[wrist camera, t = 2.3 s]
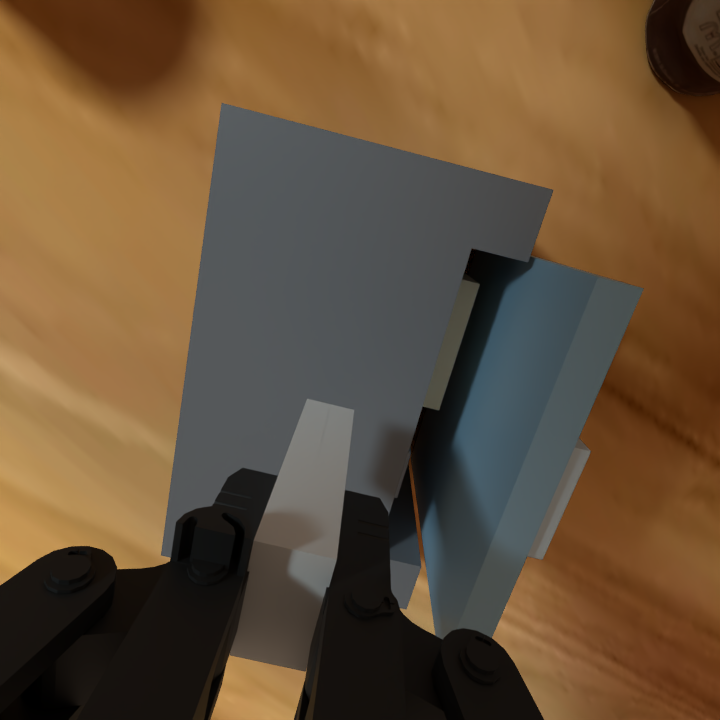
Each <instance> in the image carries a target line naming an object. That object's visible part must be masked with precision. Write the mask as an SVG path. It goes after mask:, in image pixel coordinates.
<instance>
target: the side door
mask: <svg viewBox="0 0 720 720" xmlns="http://www.w3.org/2000/svg"><path fill="white" fill-rule="evenodd" d="M468 276H469V277H471V278H472V279H474V280H475V281H476V282H478V283H479V284H480V286H479V289H478V292H477V295H476V298H475V301H474V304H473V307H472V310H471V313H470V316H469V320H468V323H467V326H466V329H465V332H464V335H463V338H462V341H461V344H460V347H459V350H458V354H457V357H456V360H455V363H454V366H453V369H452V372H451V375H450V378H449V381H448V384H447V387H446V391H445V394H444V397H443V400H442V403H441V406H440V409H439V410H435V409H431V408H426V411H425V414H424V418H423V421H422V424H421V427H420V430H419V433H418V437H417V440H416V443H415V446H414V449H413V453H412V456H411V462H412V469H413V477H414V484H415V491H416V498H417V505H418V513H419V520H420V527H421V534H422V541H423V548H424V556H425V563H426V570H427V577H428V584H429V592H430V599H431V606H432V613H433V620H434V627H435V635H436V636H437V637H439V638H441V639H443V638H444V637H445V636H446V635H447V634H448V633H450V632H451V631H452V630H456V629H461V628H466V629H471V630H476V631H479V632H481V633H483V634H485V635H487V636H489V637H491V638H492V636H493V634H494V632H495V629H496V627H497V625H498V622H499V620H500V618H501V615H502V613H503V611H504V609H505V606H506V604H507V602H508V599H509V597H510V595H511V592H512V590H513V588H514V586H515V583H516V581H517V579H518V576H519V574H520V572H521V569H522V567H523V565H524V563H525V560H526V558H527V556H528V557H532V558H537V559H541V560H543V557H544V555H545V553H546V551H547V549H548V546H549V544H550V542H551V540H552V537H553V535H554V533H555V531H556V528H557V526H558V524H559V522H560V520H561V517H562V515H563V513H564V511H565V508H566V506H567V504H568V502H569V500H570V497H571V495H572V493H573V491H574V488H575V486H576V484H577V482H578V479H579V477H580V475H581V473H582V471H583V468H584V466H585V464H586V462H587V459H588V457H589V455H590V453H591V451H590V450H589V449H588V447H587V446H586V445H585V444H584V443H583V442H582V441H581V440H580V438H579V436H580V434H581V432H582V429H583V427H584V425H585V422H586V420H587V418H588V415H589V413H590V411H591V409H592V406H593V404H594V402H595V399H596V397H597V395H598V392H599V390H600V388H601V386H602V383H603V381H604V379H605V376H606V374H607V372H608V369H609V367H610V365H611V363H612V360H613V358H614V356H615V353H616V351H617V349H618V346H619V344H620V342H621V340H622V337H623V335H624V333H625V330H626V328H627V326H628V323H629V321H630V319H631V317H632V314H633V312H634V310H635V307H636V305H637V303H638V301H639V298H640V296H641V294H642V291H643V289H644V288H640V287H637V286H633V285H630V284H627V283H623V282H620V281H617V280H613V279H610V278H606V277H603V276H600V275H596V274H593V273H589V272H586V271H583V270H579V269H576V268H573V267H569V266H566V265H562V264H559V263H556V262H552V261H549V260H545V259H542V258H539V257H535V256H532V255H530V258H529V261H528V262H524V261H520V260H516V259H512V258H508V257H504V256H500V255H496V254H493V253H489V252H485V251H481V250H477V249H476V252H475V255H474V258H473V261H472V265H471V268H470V271H469V274H468Z"/></svg>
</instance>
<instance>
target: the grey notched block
mask: <svg viewBox="0 0 720 720" xmlns="http://www.w3.org/2000/svg"><path fill="white" fill-rule="evenodd" d="M552 193H553V190H552V189H548V188H544V187H540V186H536V185H533V184H529V183H525V182H521V181H517V180H514V179H510V178H506V177H502V176H498V175H495V174H491V173H487V172H483V171H479V170H475V169H472V168H468V167H464V166H460V165H456V164H453V163H449V162H445V161H441V160H437V159H434V158H430V157H426V156H422V155H418V154H414V153H411V152H407V151H403V150H399V149H395V148H392V147H388V146H384V145H380V144H376V143H373V142H369V141H365V140H361V139H357V138H353V137H350V136H346V135H342V134H338V133H334V132H331V131H327V130H323V129H319V128H315V127H312V126H308V125H304V124H300V123H296V122H293V121H289V120H285V119H281V118H277V117H273V116H270V115H266V114H262V113H258V112H254V111H251V110H247V109H243V108H239V107H235V106H232V105H228V104H224V103H222V105H221V112H220V120H219V127H218V134H217V142H216V149H215V157H214V164H213V172H212V179H211V187H210V194H209V202H208V209H207V217H206V224H205V231H204V239H203V246H202V254H201V261H200V269H199V276H198V284H197V291H196V299H195V306H194V313H193V321H192V328H191V336H190V343H189V351H188V358H187V366H186V373H185V381H184V388H183V396H182V403H181V410H180V418H179V425H178V433H177V440H176V448H175V455H174V463H173V470H172V478H171V485H170V492H169V500H168V507H167V515H166V522H165V530H164V537H163V545H162V552H161V555H162V556H166V557H171V552H172V546H173V539H174V532H175V525H176V522H177V521H178V520H179V519H180V518H181V517H182V516H183V515H184V514H185V513H187V512H190V511H192V510H194V509H196V508H202V507H209V506H212V505H213V504H214V502H215V499H216V498H217V496H218V494H219V493H220V491H221V489H222V487H223V485H224V483H225V482H226V480H227V478H228V477H229V476H230V475H232V474H233V473H235V472H237V471H238V470H240V469H241V468H247V469H251V470H255V471H260V472H264V473H268V474H273V475H277V476H278V475H279V472H280V469H281V467H282V464H283V461H284V459H285V456H286V453H287V451H288V448H289V446H290V443H291V440H292V438H293V435H294V432H295V430H296V427H297V424H298V422H299V419H300V416H301V414H302V411H303V408H304V406H305V403H306V401H307V399H311V400H315V401H319V402H323V403H327V404H331V405H336V406H340V407H344V408H348V409H352V410H354V416H353V425H352V433H351V442H350V451H349V459H348V468H347V476H346V485H345V490H348V491H352V492H357V493H361V494H365V495H369V496H374V497H378V498H380V499H381V501H382V502H383V504H384V506H385V507H386V509H387V511H388V517H389V529H388V530H389V544H390V571H391V590H392V593H393V595H394V596H395V597H396V599H397V601H398V604H399V608H402V609H407V606H408V603H409V600H410V597H411V595H412V592H413V589H414V586H415V583H416V580H417V577H418V575H419V572H420V569H421V561H420V553H419V545H418V537H417V529H416V521H415V513H414V505H413V497H412V489H411V481H410V473H409V465H408V462H409V459H410V456H411V448H410V445H411V442H412V439H413V436H414V432H415V429H416V426H417V423H418V420H419V416H420V413H421V410H422V407H427V408H431V409H435V410H439V409H440V406H441V403H442V400H443V397H444V394H445V391H446V387H447V384H448V381H449V378H450V375H451V372H452V369H453V366H454V363H455V360H456V357H457V354H458V350H459V347H460V344H461V341H462V338H463V335H464V332H465V329H466V326H467V323H468V320H469V316H470V313H471V310H472V307H473V304H474V301H475V298H476V295H477V292H478V289H479V286H480V284H479V283H478V282H476V281H475V280H474V279H472V278H471V277H469V276H468V275H467V274H465V273H464V272H465V268H466V265H467V262H468V259H469V255H470V252H471V249H472V248H473V249H477V250H481V251H485V252H489V253H493V254H496V255H500V256H504V257H508V258H512V259H516V260H520V261H524V262H528V261H529V258H530V255H531V253H532V250H533V247H534V244H535V241H536V238H537V236H538V233H539V230H540V227H541V224H542V221H543V218H544V216H545V213H546V210H547V207H548V204H549V201H550V198H551V196H552Z"/></svg>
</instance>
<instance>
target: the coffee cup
mask: <svg viewBox="0 0 720 720" xmlns="http://www.w3.org/2000/svg"><path fill="white" fill-rule="evenodd" d="M645 39H646V52H647V57H648V60H649V63H650V65H651V67H652V69H653V70H654V72H655V74H656V75H657V76H658V77H659V78H660V79H661V80H662V81H663V82H664V83H665V84H666V85H668V86H669V87H670V88H671V89H673V90H674V91H676V92H678V93H681V94H686V95H693V96H704V95H713V94H717V93H720V0H654V1H653V3H652V6H651V8H650V10H649V13H648V15H647V18H646V25H645Z"/></svg>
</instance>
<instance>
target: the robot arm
mask: <svg viewBox="0 0 720 720" xmlns="http://www.w3.org/2000/svg"><path fill="white" fill-rule="evenodd" d="M353 416H354V410H352V409H348V408H344V407H340V406H336V405H331V404H327V403H323V402H319V401H315V400H311V399H307V401H306V403H305V406H304V408H303V411H302V414H301V416H300V419H299V422H298V424H297V427H296V430H295V432H294V435H293V438H292V440H291V443H290V446H289V448H288V451H287V453H286V456H285V459H284V461H283V464H282V467H281V469H280V472H279V475H278V476H277V475H273V474H268V473H264V472H260V471H255V470H251V469H247V468H241V469H240V470H238V471H237V472H235V473H233V474H232V475H230V476H229V477H228V478H227V480H226V482H225V483H224V485H223V487H222V489H221V491H220V493H219V494H218V496H217V498H216V499H215V502H214V504H213V505H212V506H209V507H202V508H196V509H194V510H192V511H190V512H187V513H185V514H184V515H183V516H182V517H181V518H180V519H179V520H178V521H177V522H176V525H175V532H174V539H173V546H172V552H171V559H170V562H168V563H166V564H163V565H159V566H156V567H150V568H142V569H117V566H116V564H115V561H114V559H113V557H112V556H110V555H109V554H108V553H106V552H105V551H104V550H101V549H97V548H94V547H90V546H74V547H68V548H64V549H60V550H56V551H53V552H51V553H49V554H47V555H45V556H43V557H41V558H40V559H38V560H36V561H35V562H33V563H32V564H30V565H29V566H28V567H26V568H25V569H23V570H22V571H20V572H19V573H18V574H16V575H15V576H13V577H12V578H10V579H9V580H8V581H6V582H5V583H3V584H2V585H0V720H210V719H211V716H212V713H213V710H214V707H215V704H216V701H217V698H218V694H219V691H220V688H221V685H222V681H223V676H224V671H225V667H226V663H227V660H228V657H229V654H230V655H231V656H236V657H241V658H245V659H250V660H255V661H259V662H264V663H269V664H273V665H278V666H282V667H287V668H292V669H296V670H301V671H306V668H307V671H306V678H305V682H304V685H303V689H302V693H301V696H300V700H299V703H298V707H297V710H296V714H295V718H294V720H544V719H543V717H542V715H541V713H540V711H539V709H538V707H537V705H536V703H535V701H534V700H533V698H532V696H531V694H530V692H529V690H528V688H527V686H526V684H525V683H524V681H523V679H522V677H521V675H520V673H519V671H518V669H517V667H516V665H515V664H514V662H513V660H512V659H511V658H510V656H509V655H508V653H507V652H506V651H505V649H504V648H503V647H501V646H500V645H499V644H498V643H497V642H496V641H495V640H493V639H492V638H491V637H489V636H487V635H485V634H483V633H481V632H479V631H476V630H471V629H466V628H461V629H456V630H452V631H451V632H450V633H448V634H447V635H446V636H445V637H444V638H443V639H441V638H439V637H437V636H435V635H433V634H431V633H429V632H427V631H425V630H423V629H422V628H420V627H419V626H417V625H415V624H414V623H412V622H411V621H410V620H409V619H408V618H407V617H406V616H405V615H403V613H402V612H401V611H400V608H399V604H398V601H397V599H396V597H395V596H394V595H393V593H392V590H391V571H390V544H389V530H388V529H389V517H388V511H387V509H386V507H385V506H384V504H383V502H382V501H381V499H380V498H378V497H374V496H369V495H365V494H361V493H357V492H352V491H348V490H345V485H346V476H347V468H348V459H349V451H350V442H351V433H352V425H353Z"/></svg>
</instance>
